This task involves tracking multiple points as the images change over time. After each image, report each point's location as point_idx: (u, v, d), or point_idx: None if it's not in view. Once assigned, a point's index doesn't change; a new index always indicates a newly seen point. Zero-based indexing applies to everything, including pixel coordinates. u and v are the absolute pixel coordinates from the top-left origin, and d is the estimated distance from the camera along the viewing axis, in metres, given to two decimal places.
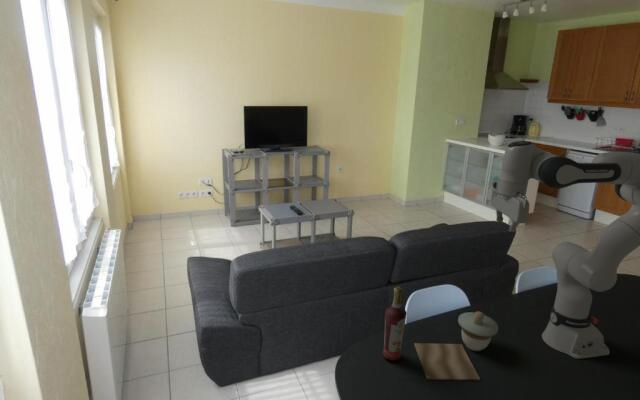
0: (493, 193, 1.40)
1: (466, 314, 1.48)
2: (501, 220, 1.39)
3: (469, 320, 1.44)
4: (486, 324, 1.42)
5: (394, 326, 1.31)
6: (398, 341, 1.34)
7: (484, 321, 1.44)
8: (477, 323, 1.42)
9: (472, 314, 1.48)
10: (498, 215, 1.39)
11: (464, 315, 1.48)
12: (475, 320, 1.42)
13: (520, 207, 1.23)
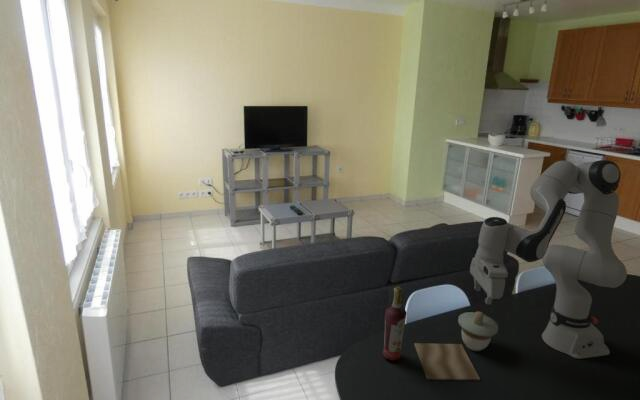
0: None
1: (466, 314, 1.48)
2: None
3: (469, 320, 1.44)
4: (486, 324, 1.42)
5: (394, 326, 1.31)
6: (398, 341, 1.34)
7: (484, 321, 1.44)
8: (477, 323, 1.42)
9: (472, 314, 1.48)
10: None
11: (464, 315, 1.48)
12: (475, 320, 1.42)
13: None
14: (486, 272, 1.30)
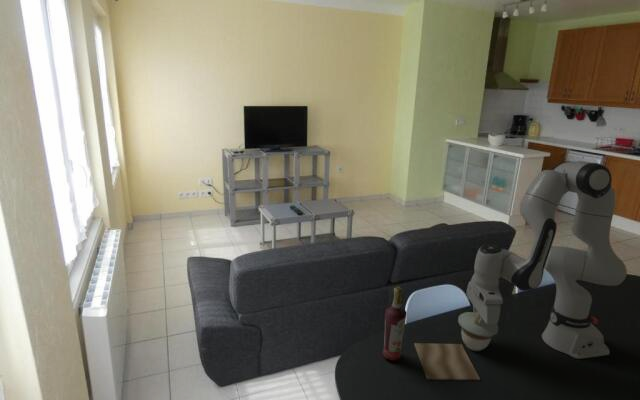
0: None
1: (466, 314, 1.48)
2: None
3: (469, 320, 1.44)
4: (486, 324, 1.42)
5: (394, 326, 1.31)
6: (398, 341, 1.34)
7: None
8: (477, 323, 1.42)
9: (472, 314, 1.48)
10: None
11: (464, 315, 1.48)
12: (475, 320, 1.42)
13: None
14: (482, 299, 1.33)
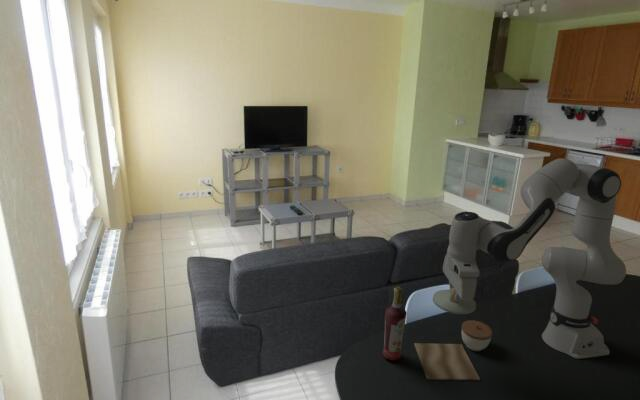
0: None
1: (442, 291, 1.35)
2: None
3: (445, 297, 1.31)
4: (463, 301, 1.29)
5: (394, 326, 1.31)
6: (398, 341, 1.34)
7: None
8: (453, 300, 1.29)
9: None
10: None
11: (440, 292, 1.34)
12: (451, 297, 1.29)
13: None
14: (456, 271, 1.20)
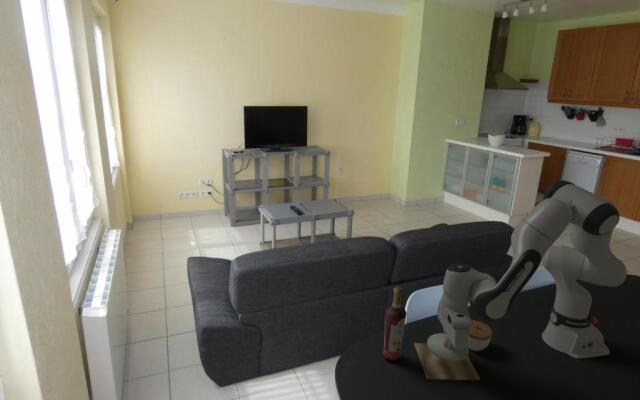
0: None
1: (436, 336, 1.40)
2: None
3: (439, 342, 1.36)
4: None
5: (394, 326, 1.31)
6: (398, 341, 1.34)
7: None
8: (447, 346, 1.33)
9: None
10: None
11: (434, 337, 1.39)
12: (445, 343, 1.34)
13: None
14: (450, 321, 1.24)
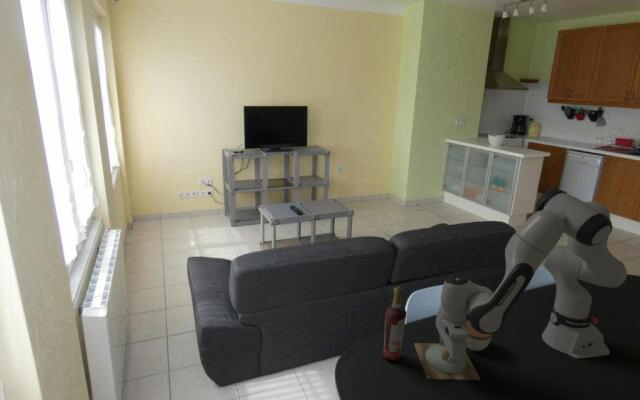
0: None
1: (434, 348, 1.42)
2: None
3: (437, 355, 1.38)
4: None
5: (394, 326, 1.31)
6: (398, 341, 1.34)
7: None
8: (444, 359, 1.36)
9: (441, 348, 1.42)
10: None
11: (432, 349, 1.41)
12: (442, 355, 1.36)
13: None
14: (447, 333, 1.26)
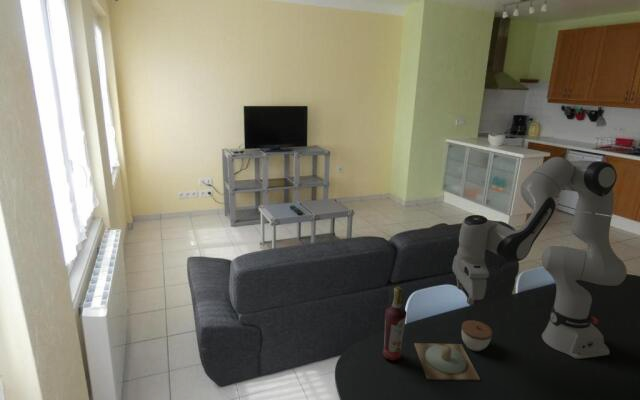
0: None
1: (434, 348, 1.42)
2: None
3: (437, 355, 1.38)
4: (454, 359, 1.36)
5: (394, 326, 1.31)
6: (398, 341, 1.34)
7: (452, 356, 1.38)
8: (444, 359, 1.36)
9: (441, 348, 1.42)
10: None
11: (432, 349, 1.41)
12: (442, 355, 1.36)
13: None
14: (467, 273, 1.25)
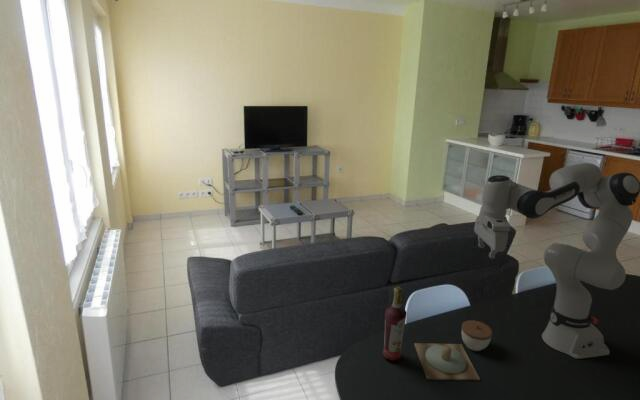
0: None
1: (434, 348, 1.42)
2: None
3: (437, 355, 1.38)
4: (454, 359, 1.36)
5: (394, 326, 1.31)
6: (398, 341, 1.34)
7: (452, 356, 1.38)
8: (444, 359, 1.36)
9: (441, 348, 1.42)
10: None
11: (432, 349, 1.41)
12: (442, 355, 1.36)
13: None
14: (490, 226, 1.37)
